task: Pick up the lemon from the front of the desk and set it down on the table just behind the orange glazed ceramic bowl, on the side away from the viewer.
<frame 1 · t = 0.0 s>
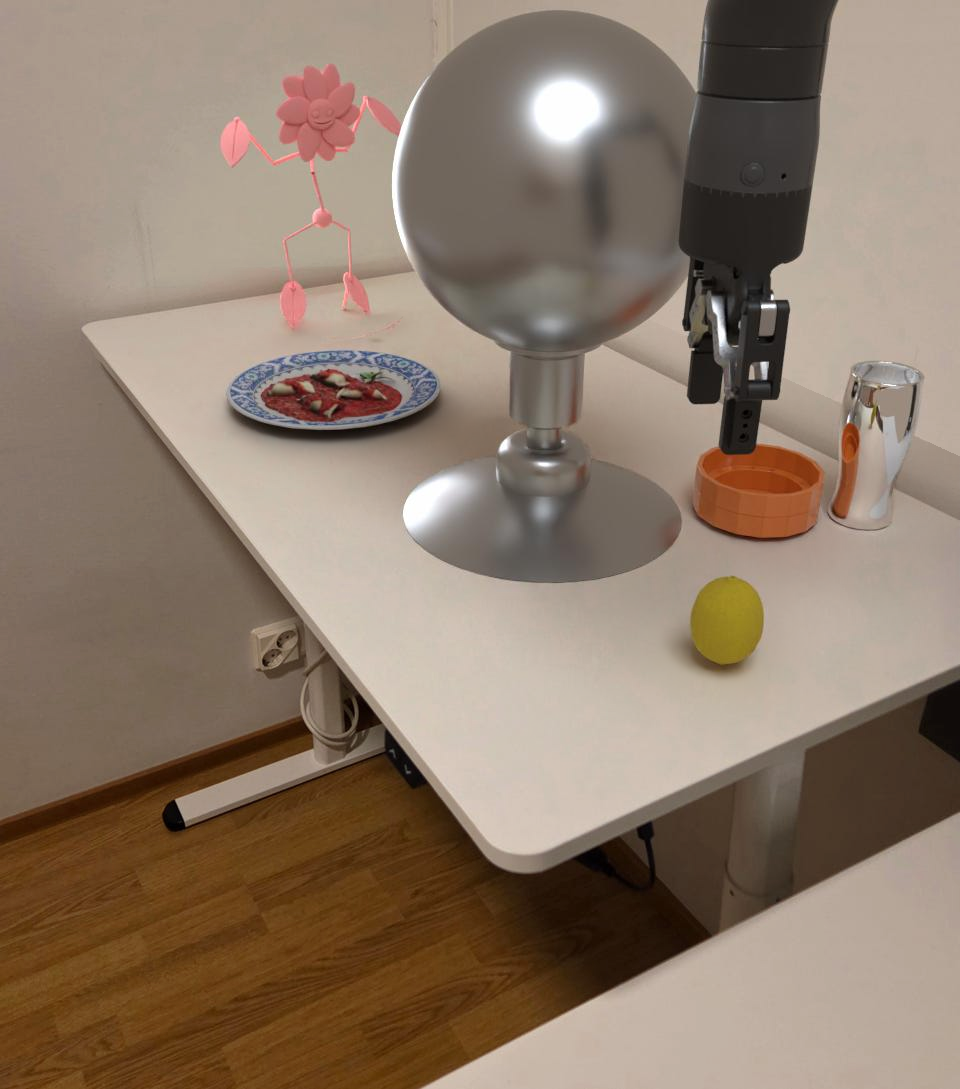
hand: (718, 426, 73), 22 cm above the table, tool pointing down, fingers open, 8 cm apart
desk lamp: (541, 512, 110), on the table
lemon: (720, 666, 87), on the table
ceramic plate: (335, 403, 135), on the table
figurine: (335, 327, 161), on the table
beer glass: (858, 517, 109), on the table
bowl: (753, 513, 110), on the table
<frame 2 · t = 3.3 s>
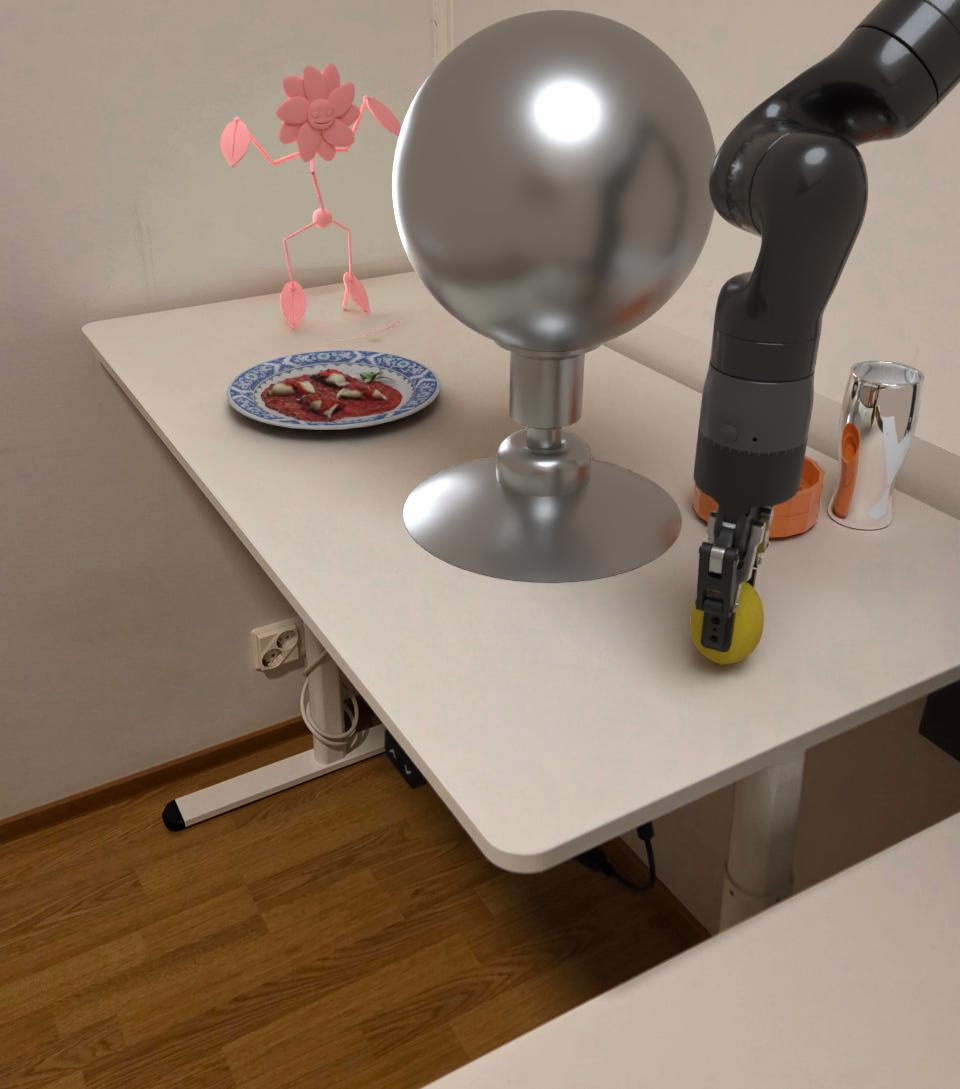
hand: (726, 626, 85), 4 cm above the table, tool pointing down, fingers closed on lemon, 5 cm apart
lemon: (720, 666, 87), on the table, touching gripper
everything else where it was.
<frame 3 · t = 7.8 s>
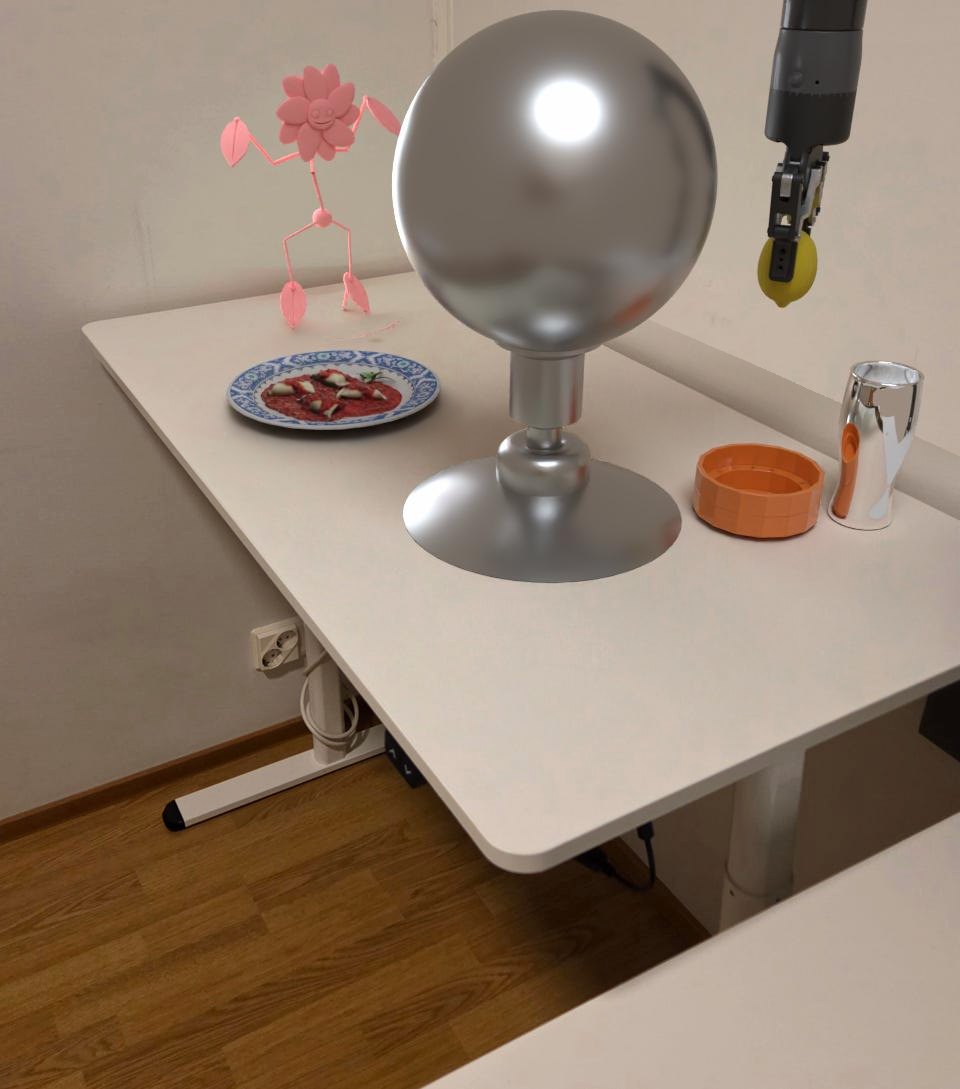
hand: (787, 272, 106), 22 cm above the table, tool pointing down, fingers closed on lemon, 5 cm apart
lemon: (781, 309, 108), point 18 cm above the table, touching gripper
everything else where it was.
when the fingers open (4 cm above the table, at t = 12.5 s): lemon stays where it is, on the table.
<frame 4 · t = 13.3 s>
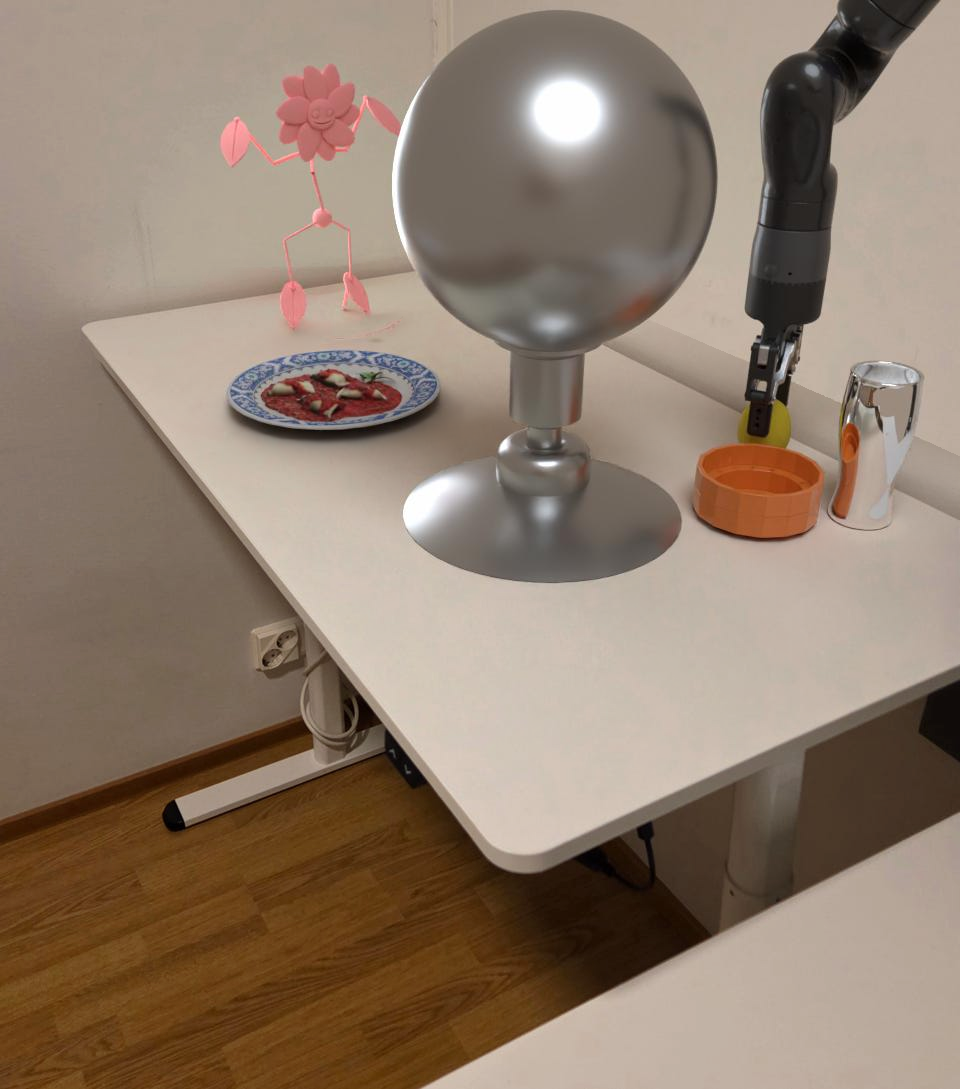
hand: (767, 421, 117), 5 cm above the table, tool pointing down, fingers open, 8 cm apart
lemon: (759, 466, 120), on the table
everything else where it was.
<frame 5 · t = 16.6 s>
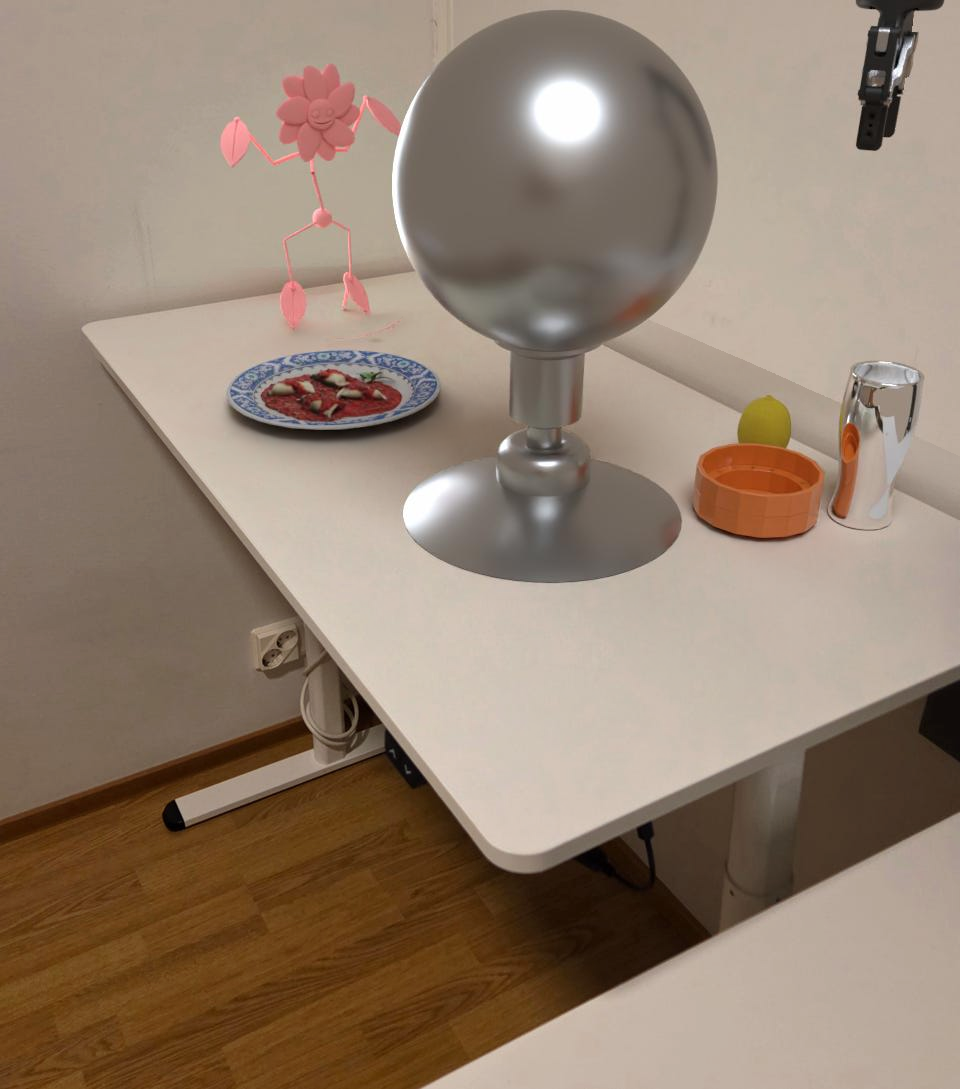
hand: (875, 142, 105), 33 cm above the table, tool pointing down, fingers open, 8 cm apart
nothing on the table moved.
at the end: lemon inside the target area on the table beside the bowl (1.7 cm from its centre), on the table; the gripper is holding nothing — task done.
